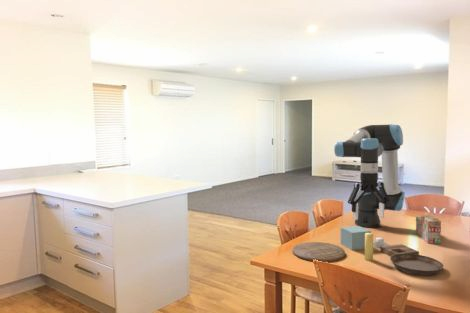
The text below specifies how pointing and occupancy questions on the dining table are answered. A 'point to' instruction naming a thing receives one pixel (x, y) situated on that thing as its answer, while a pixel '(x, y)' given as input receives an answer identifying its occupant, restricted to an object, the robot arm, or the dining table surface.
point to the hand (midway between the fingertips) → (368, 218)
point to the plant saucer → (416, 264)
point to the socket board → (397, 250)
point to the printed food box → (429, 228)
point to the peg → (369, 246)
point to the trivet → (318, 251)
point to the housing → (353, 237)
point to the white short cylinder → (379, 243)
